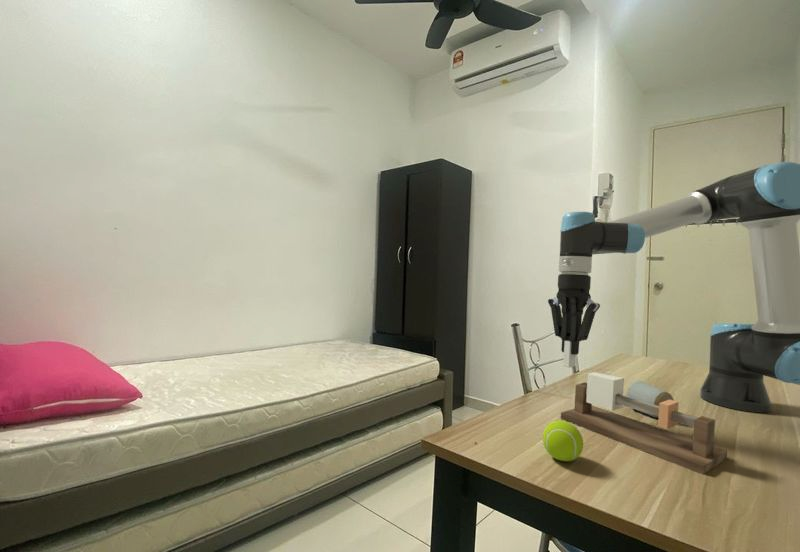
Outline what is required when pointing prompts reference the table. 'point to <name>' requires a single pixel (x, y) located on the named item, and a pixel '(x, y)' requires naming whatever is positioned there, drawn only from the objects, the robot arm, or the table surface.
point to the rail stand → (650, 432)
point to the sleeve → (604, 390)
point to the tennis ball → (562, 440)
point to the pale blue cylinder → (647, 394)
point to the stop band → (667, 414)
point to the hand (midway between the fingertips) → (569, 366)
